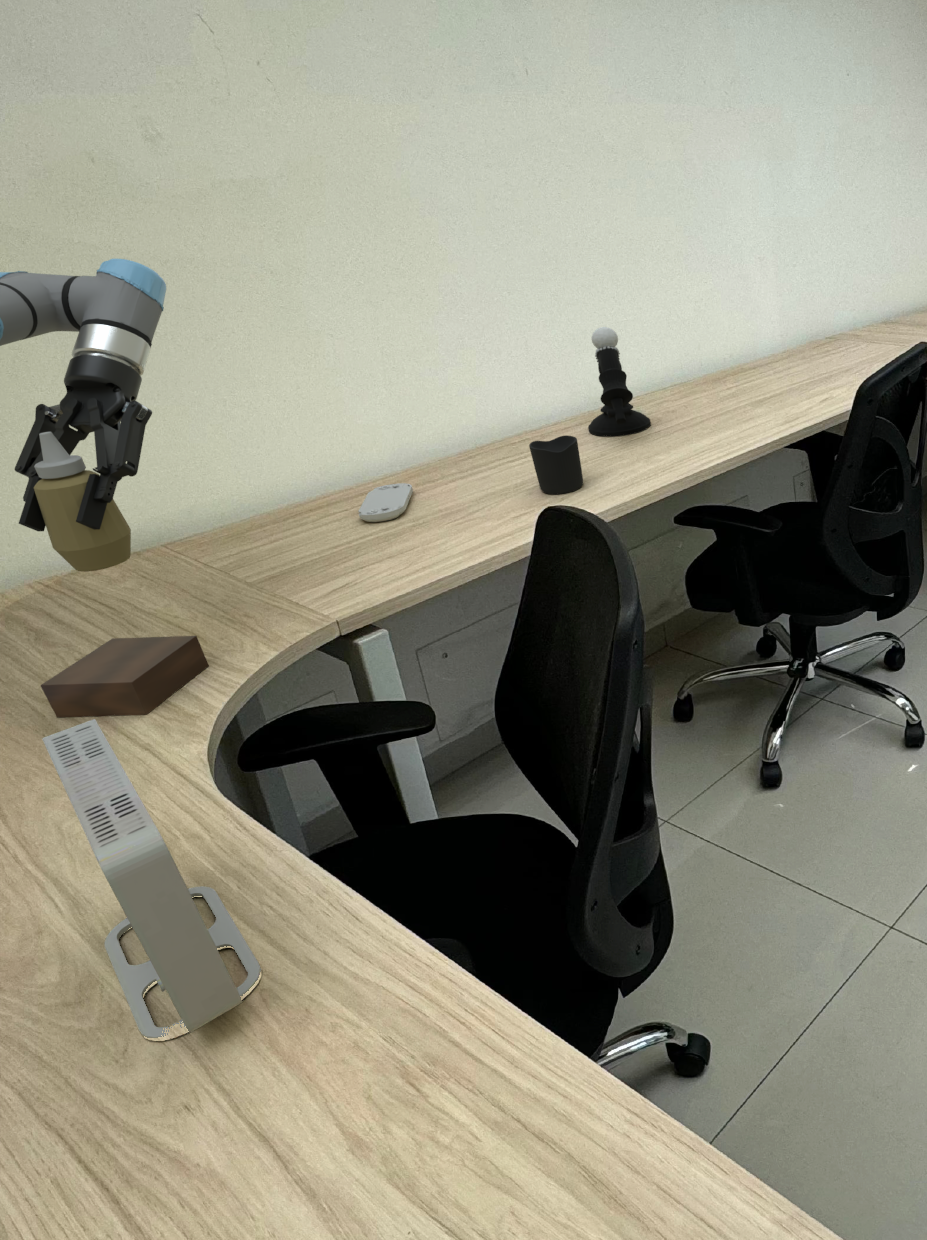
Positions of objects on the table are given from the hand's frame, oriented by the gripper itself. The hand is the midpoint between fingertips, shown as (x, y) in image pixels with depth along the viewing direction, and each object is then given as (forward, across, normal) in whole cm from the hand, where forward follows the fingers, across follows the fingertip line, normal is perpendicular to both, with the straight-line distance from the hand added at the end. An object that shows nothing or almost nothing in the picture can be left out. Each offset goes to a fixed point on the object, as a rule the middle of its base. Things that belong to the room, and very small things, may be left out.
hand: (59, 526), depth 115 cm
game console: (-30, -2, -64) cm, 71 cm away
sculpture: (-63, -37, -97) cm, 122 cm away
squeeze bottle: (+2, 0, -8) cm, 8 cm away
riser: (+18, -1, -17) cm, 24 cm away
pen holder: (-35, -35, -70) cm, 86 cm away
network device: (+50, -40, +16) cm, 66 cm away
